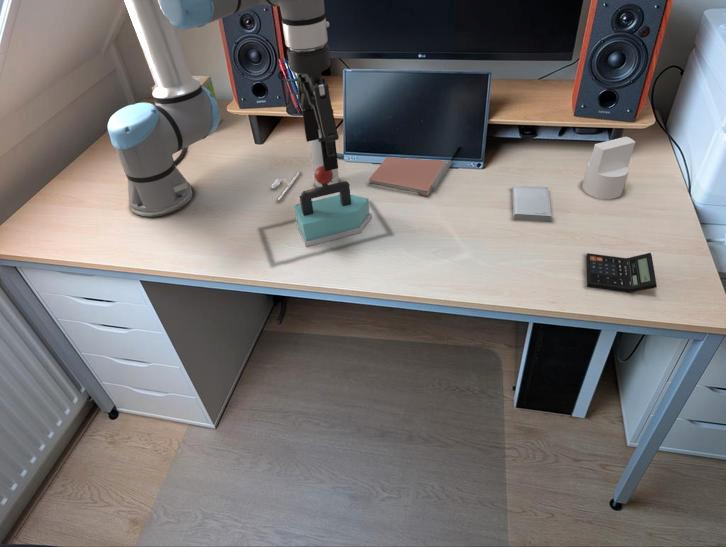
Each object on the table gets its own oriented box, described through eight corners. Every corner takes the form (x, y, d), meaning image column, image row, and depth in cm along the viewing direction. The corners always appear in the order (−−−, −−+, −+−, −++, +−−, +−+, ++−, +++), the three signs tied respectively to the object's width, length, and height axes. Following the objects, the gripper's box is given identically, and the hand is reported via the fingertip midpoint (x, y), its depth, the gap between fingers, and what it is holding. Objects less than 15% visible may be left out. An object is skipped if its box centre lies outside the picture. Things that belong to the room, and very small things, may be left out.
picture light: (279, 202, 128) (278, 195, 127) (263, 200, 129) (262, 193, 128) (300, 173, 138) (299, 166, 137) (285, 172, 139) (284, 165, 138)
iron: (365, 207, 124) (361, 147, 113) (378, 228, 117) (375, 166, 107) (295, 224, 120) (285, 164, 109) (305, 247, 113) (295, 185, 103)
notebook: (431, 197, 126) (432, 190, 125) (368, 185, 132) (368, 178, 130) (464, 146, 144) (464, 140, 143) (407, 137, 150) (407, 131, 148)
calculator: (586, 256, 106) (589, 244, 104) (648, 264, 104) (652, 252, 102) (587, 286, 100) (590, 275, 98) (653, 296, 97) (658, 284, 95)
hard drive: (552, 216, 115) (548, 185, 124) (514, 213, 116) (512, 184, 125) (550, 222, 116) (547, 191, 125) (513, 219, 117) (512, 189, 126)
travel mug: (337, 192, 130) (329, 116, 117) (312, 190, 132) (301, 115, 118) (343, 179, 135) (335, 105, 122) (318, 177, 136) (308, 104, 123)
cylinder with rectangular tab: (598, 202, 120) (611, 156, 112) (574, 183, 127) (585, 138, 119) (630, 194, 122) (646, 147, 114) (605, 175, 129) (618, 130, 121)
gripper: (349, 63, 83) (358, 178, 97) (309, 23, 101) (322, 125, 115) (304, 72, 82) (320, 187, 96) (272, 30, 100) (289, 132, 114)
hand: (321, 153), depth 106 cm, fingers open, 13 cm apart
